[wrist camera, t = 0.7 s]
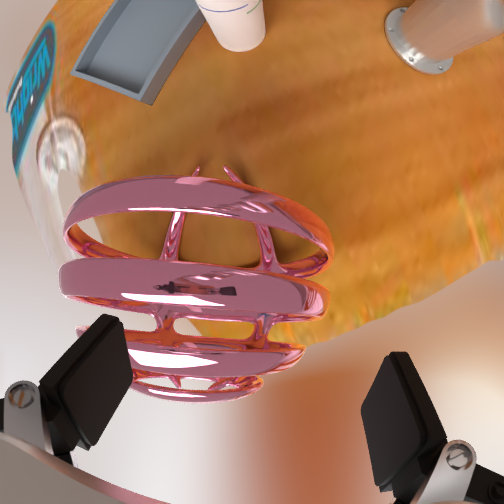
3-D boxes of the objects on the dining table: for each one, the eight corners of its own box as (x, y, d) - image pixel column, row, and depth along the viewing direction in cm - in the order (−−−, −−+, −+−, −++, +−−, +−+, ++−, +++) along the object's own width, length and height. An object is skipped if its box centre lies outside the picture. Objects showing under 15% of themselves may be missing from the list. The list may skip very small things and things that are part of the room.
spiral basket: (72, 63, 17) (-15, 399, 9) (372, 104, 22) (397, 426, 15) (120, 194, 43) (98, 362, 36) (282, 212, 49) (278, 375, 41)
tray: (143, -14, 28) (134, -24, 24) (220, 2, 29) (215, -10, 26) (83, 78, 34) (69, 74, 30) (151, 105, 36) (140, 101, 32)
